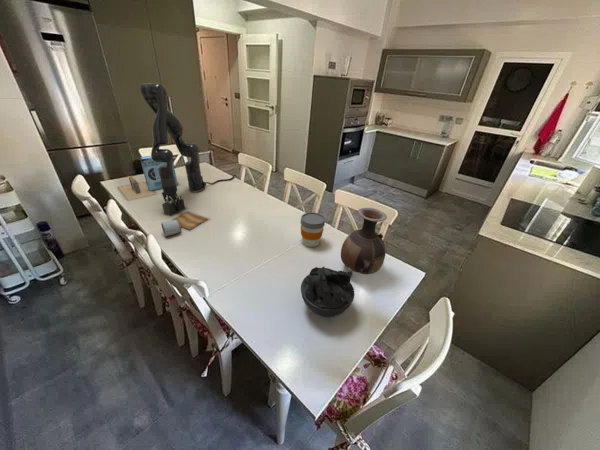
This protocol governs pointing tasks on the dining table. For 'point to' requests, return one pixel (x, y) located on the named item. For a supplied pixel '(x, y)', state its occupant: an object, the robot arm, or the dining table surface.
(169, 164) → the robot arm
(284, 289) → the dining table surface
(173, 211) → the tissue box
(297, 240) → the dining table surface
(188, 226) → the wooden cutting board
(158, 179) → the gum box
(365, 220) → the vase
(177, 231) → the ceramic mug
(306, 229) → the reusable coffee cup
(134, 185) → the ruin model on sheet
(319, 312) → the coal bowl
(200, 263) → the dining table surface
